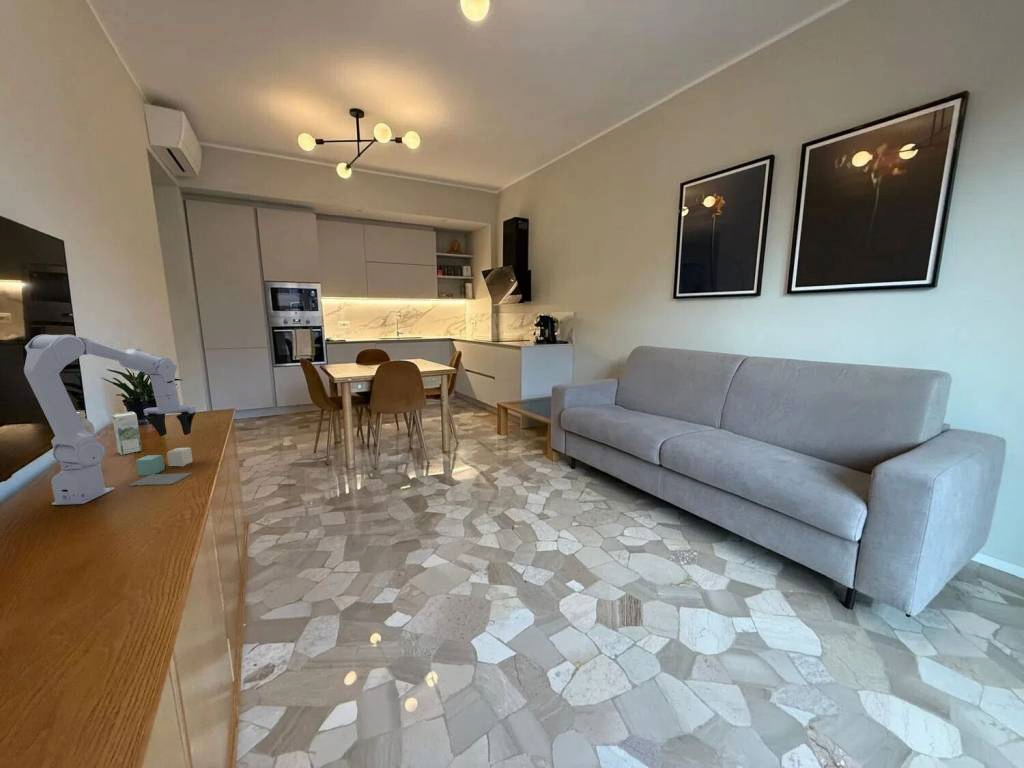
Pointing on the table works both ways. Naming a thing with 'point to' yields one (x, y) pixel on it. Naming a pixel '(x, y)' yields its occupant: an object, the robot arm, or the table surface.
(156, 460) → the teal block
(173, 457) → the cream block
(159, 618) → the table surface
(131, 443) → the syrup box
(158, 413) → the robot arm
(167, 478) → the slate mat
